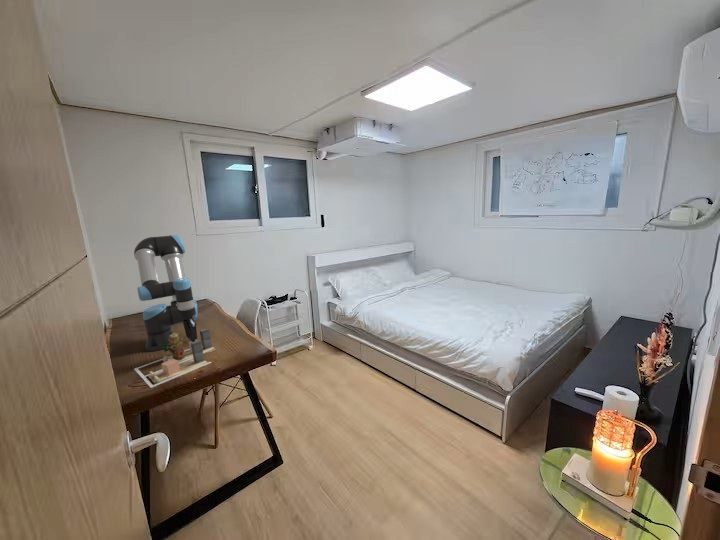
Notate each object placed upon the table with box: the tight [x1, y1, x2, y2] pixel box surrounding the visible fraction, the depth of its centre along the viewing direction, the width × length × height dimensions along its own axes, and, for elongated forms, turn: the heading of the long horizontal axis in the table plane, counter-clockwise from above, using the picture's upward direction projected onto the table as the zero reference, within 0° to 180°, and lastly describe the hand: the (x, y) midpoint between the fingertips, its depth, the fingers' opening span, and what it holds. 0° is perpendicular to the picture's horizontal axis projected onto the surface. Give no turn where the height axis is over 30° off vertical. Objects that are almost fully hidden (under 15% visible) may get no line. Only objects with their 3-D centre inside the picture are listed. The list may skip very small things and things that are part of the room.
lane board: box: [133, 348, 212, 389], centre depth 140 cm, size 27×25×1 cm
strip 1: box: [161, 328, 217, 363], centre depth 151 cm, size 11×22×11 cm, turn 140°
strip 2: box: [147, 339, 209, 385], centre depth 136 cm, size 11×22×11 cm, turn 140°
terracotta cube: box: [161, 359, 181, 376], centre depth 134 cm, size 5×5×5 cm
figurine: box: [162, 332, 185, 361], centre depth 145 cm, size 9×8×15 cm
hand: (194, 350), depth 153 cm, fingers closed
